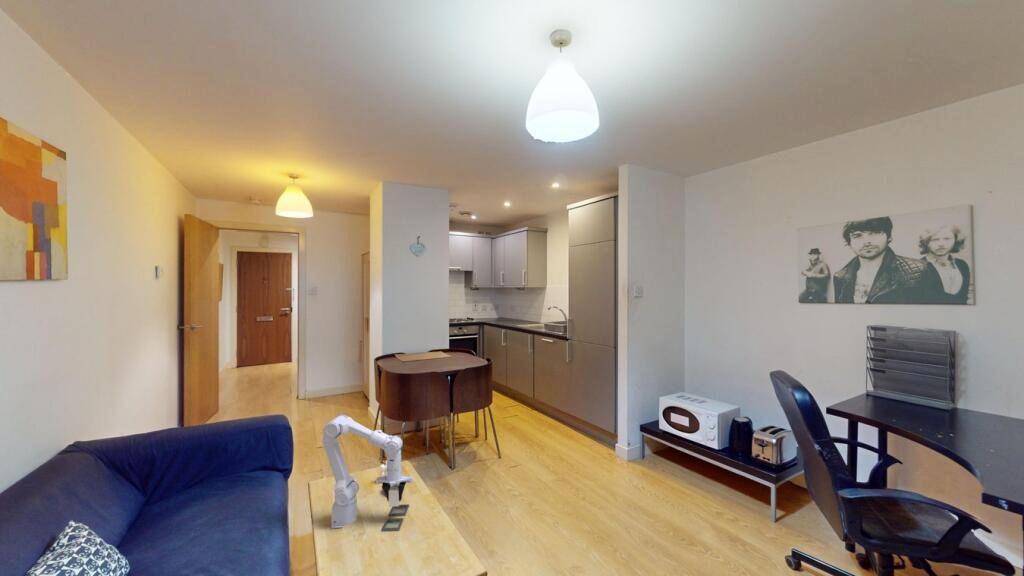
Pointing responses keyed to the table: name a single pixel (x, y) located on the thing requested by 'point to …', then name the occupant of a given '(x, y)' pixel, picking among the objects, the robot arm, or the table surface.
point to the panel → (395, 523)
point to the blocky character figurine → (384, 469)
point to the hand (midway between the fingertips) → (394, 499)
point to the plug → (394, 496)
